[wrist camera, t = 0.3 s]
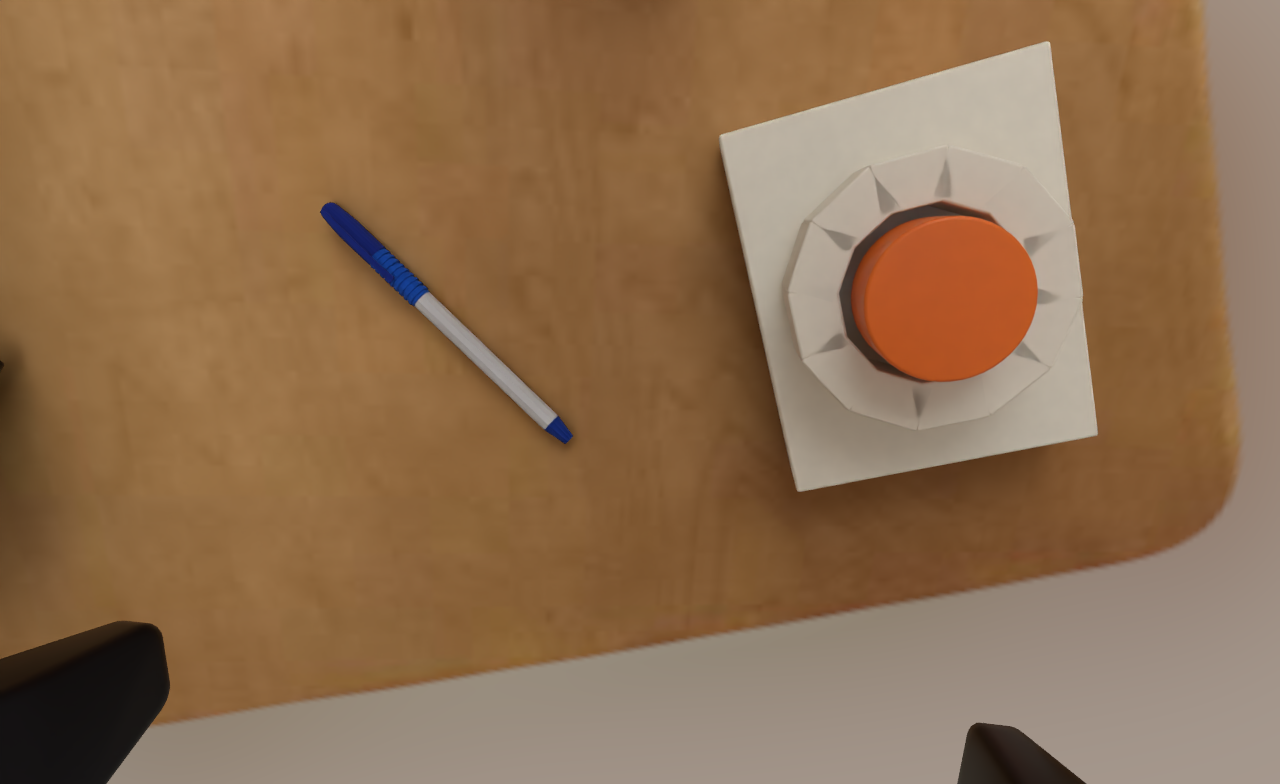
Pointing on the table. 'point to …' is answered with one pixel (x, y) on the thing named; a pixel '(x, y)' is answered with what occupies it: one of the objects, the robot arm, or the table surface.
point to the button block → (876, 203)
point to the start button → (944, 296)
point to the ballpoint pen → (442, 318)
